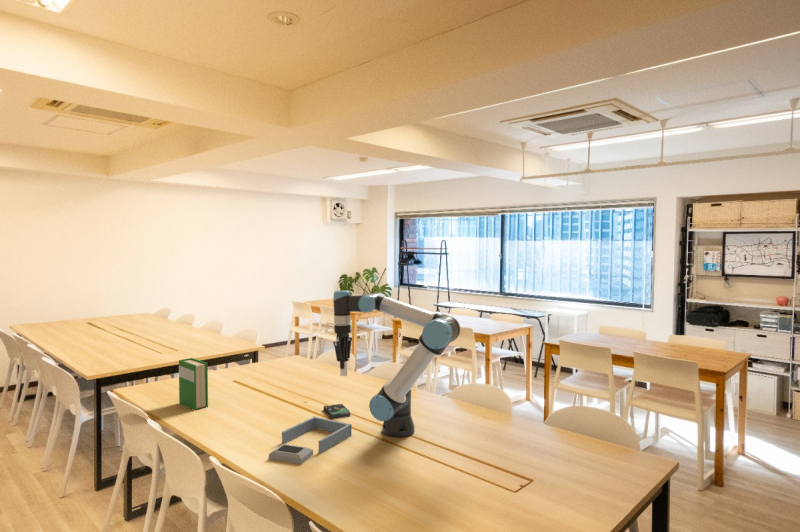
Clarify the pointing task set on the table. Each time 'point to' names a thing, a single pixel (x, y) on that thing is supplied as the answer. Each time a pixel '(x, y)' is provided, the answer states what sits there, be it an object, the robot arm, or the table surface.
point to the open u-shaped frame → (338, 428)
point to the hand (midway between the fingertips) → (343, 375)
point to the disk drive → (337, 411)
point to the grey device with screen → (291, 454)
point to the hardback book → (193, 383)
